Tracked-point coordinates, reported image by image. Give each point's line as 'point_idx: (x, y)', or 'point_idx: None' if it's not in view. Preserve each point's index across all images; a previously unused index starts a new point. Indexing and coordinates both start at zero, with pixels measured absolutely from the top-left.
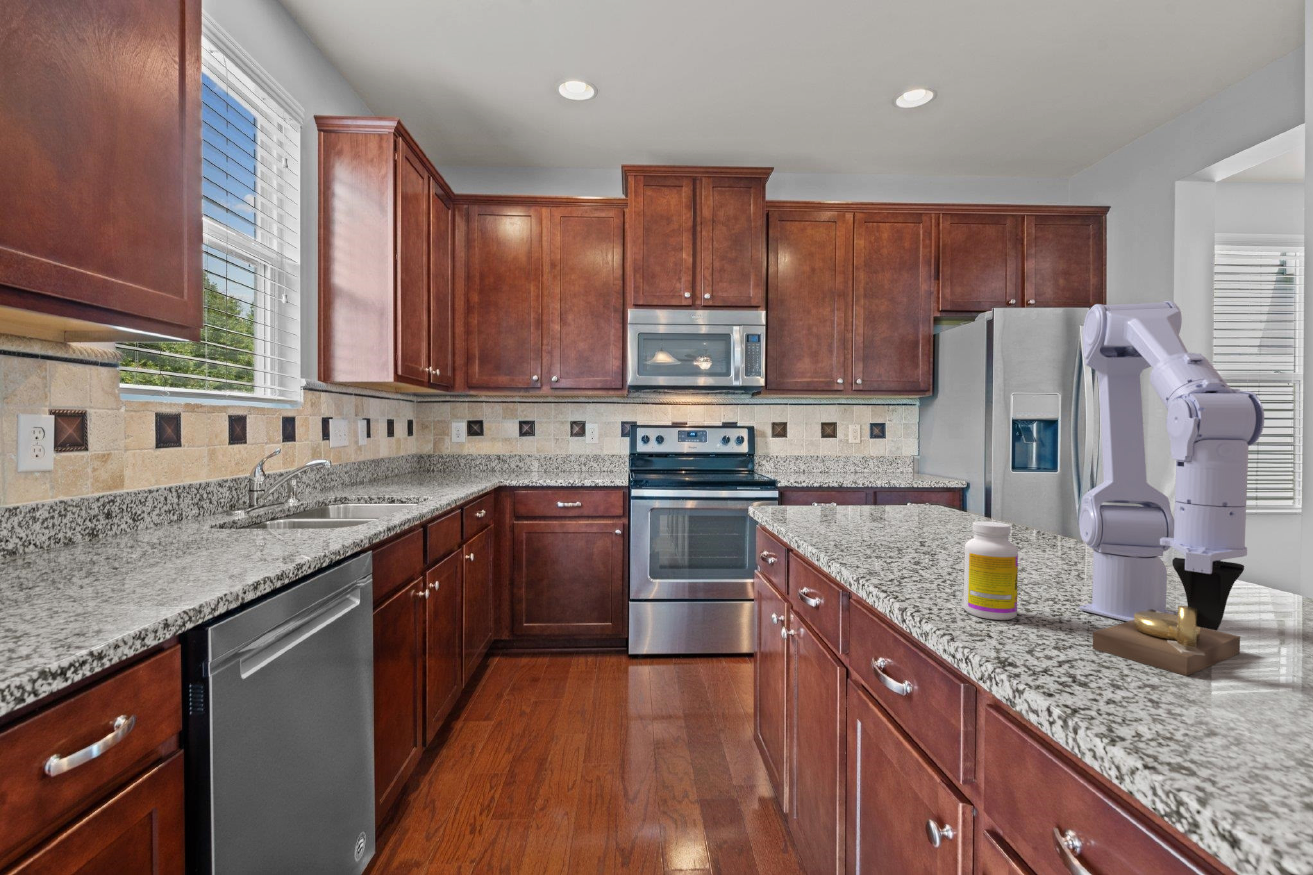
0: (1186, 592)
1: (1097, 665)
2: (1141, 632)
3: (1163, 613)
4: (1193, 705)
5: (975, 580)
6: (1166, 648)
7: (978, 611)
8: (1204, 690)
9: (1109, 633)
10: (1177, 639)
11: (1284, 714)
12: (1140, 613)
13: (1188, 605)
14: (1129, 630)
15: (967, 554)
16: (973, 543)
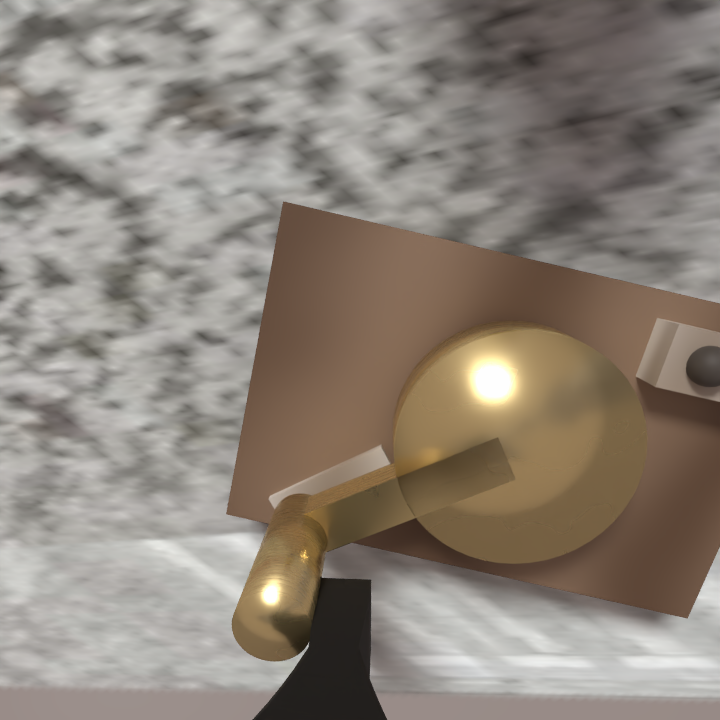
0: (284, 687)
1: (110, 264)
2: None
3: (633, 430)
4: (3, 516)
5: None
6: (283, 453)
7: None
8: (155, 526)
9: (321, 259)
10: (285, 502)
11: (137, 663)
12: (543, 352)
13: (312, 631)
14: (441, 311)
15: None
16: None
